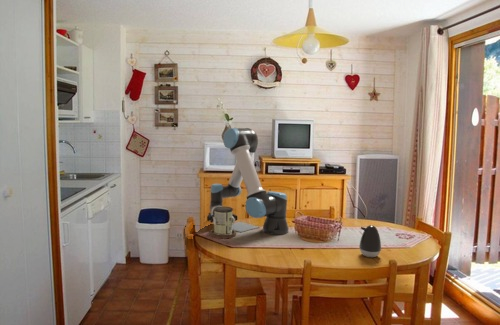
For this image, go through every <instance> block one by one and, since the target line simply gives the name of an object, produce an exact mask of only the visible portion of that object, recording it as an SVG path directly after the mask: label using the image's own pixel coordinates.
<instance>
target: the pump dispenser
mask: <svg viewBox="0 0 500 325" xmlns="http://www.w3.org/2000/svg"><path fill="white" fill-rule="evenodd" d="M360 229H361V230H363V232H362V235H361V236H360V241H359V251H360V253H361V254H362V255H363V256H364V257H366V258H376V257H377V256H379V254H380V252H381V251H382V241H381V236H380V233H379V231H378V229H377V227H376V226H374V225H371V224H370V225H368V226H366V227H363V226H361V227H360Z"/></svg>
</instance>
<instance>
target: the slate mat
mask: <svg viewBox="0 0 500 325" xmlns="http://www.w3.org/2000/svg"><path fill="white" fill-rule="evenodd" d="M259 228H260V226H257V225H254V224H249V223H247V222H243V221H237V222H235V224H233V223H232V230H235V231H236V233H237V232H238V233H243V232H244V233H245V232H248V231H253V230H256V229H259Z"/></svg>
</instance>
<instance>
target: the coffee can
mask: <svg viewBox="0 0 500 325" xmlns="http://www.w3.org/2000/svg"><path fill="white" fill-rule="evenodd" d="M233 210H234V208H233V207H231V206H222V207H216V208H214V218H215V219H216V225H214V224H213V227H214V228H213V229H214V232H213V233H214V234H217V235H230V234H233V233H232V224H233V223H232V214H233Z"/></svg>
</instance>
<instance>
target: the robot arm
mask: <svg viewBox="0 0 500 325" xmlns="http://www.w3.org/2000/svg"><path fill="white" fill-rule="evenodd" d="M222 139H223V140H222V141H223V145H224V147H225V148H226V149H229V150H230V153H231V154H232V155H234V157H235V159H236V161H235V162H236V163H235V165H234V168H233V170H232V173H231V176H230V177H229V180H228V183H227V185H224V184H222V183H212V184H211V186H210V204H209V211H210V212H208V214H207V216H206V217H207V218H206V221H207V222H210V223H211V224H212V223H213V226H214V225H216V219H215V218H214V208H216V207H223V206H224V205H223V199H227V198H235V197H238V196H240V195H241V194H242V187H241V184H242V183H244V185H245V189H246V192H247V195H246V201H245V206H244V207H245V211H246V213H247V214H248V215H249V216H250V217H251V218H254V219H259V218H260V219H263V217H264V218H265V219H264V221H263V225H262V231H263V233H265V234H269V235H285V234H288V233H289V225H288V221H287V205H288V199H287V198H288V195H287V193H284V192H279V191H272V190H271V191H270V190H269V191H267V190H266V189H263V187H262V183H261V181H260V178H259V175H258V172H257V170H256V167H255V164H254V161H253V154H255V153H256V151H257V148H258V144H259V139H258V135H257V133H256V131H254V130H253V129H252V128H248V127H246V128H245V127H244V128H243V127H241V128H240V127H238V128H237V127H231V128H228V129H227V130H226V131H225V132H224V135H223V138H222ZM242 181H243V182H242ZM236 221H238V215H236V214H234V213H232V224H235V223H236Z"/></svg>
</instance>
